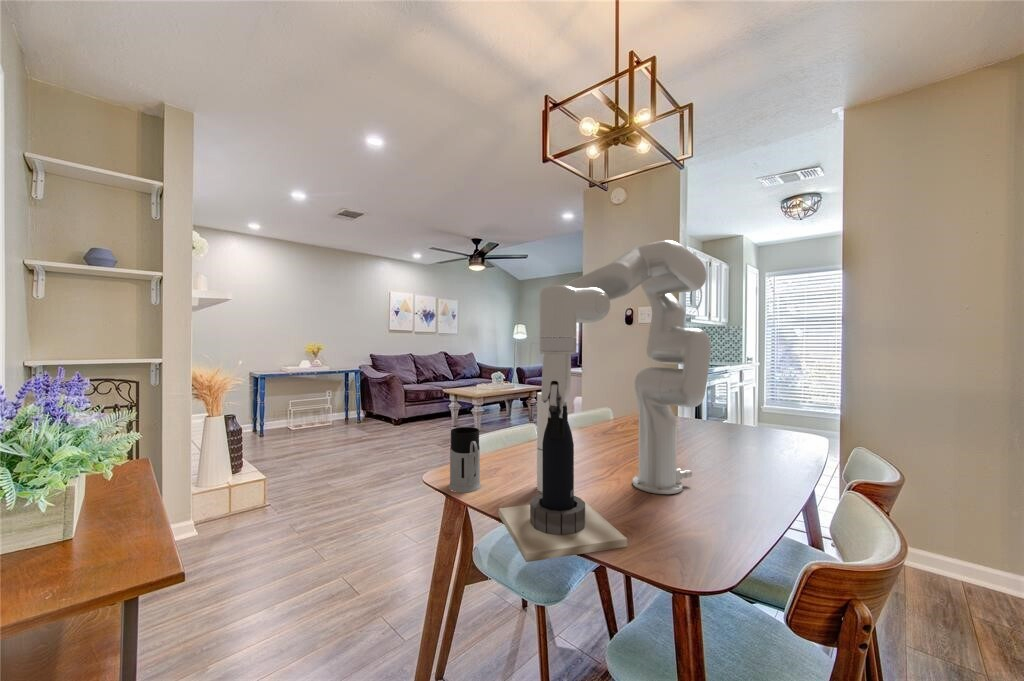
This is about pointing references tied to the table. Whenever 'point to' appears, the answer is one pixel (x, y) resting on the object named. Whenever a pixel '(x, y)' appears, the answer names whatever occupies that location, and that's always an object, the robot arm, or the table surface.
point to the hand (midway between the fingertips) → (558, 433)
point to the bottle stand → (559, 530)
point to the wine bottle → (558, 469)
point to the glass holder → (464, 460)
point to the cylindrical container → (541, 437)
